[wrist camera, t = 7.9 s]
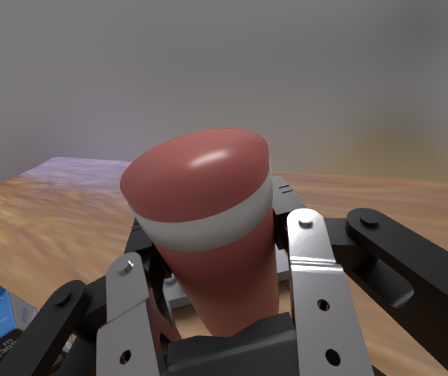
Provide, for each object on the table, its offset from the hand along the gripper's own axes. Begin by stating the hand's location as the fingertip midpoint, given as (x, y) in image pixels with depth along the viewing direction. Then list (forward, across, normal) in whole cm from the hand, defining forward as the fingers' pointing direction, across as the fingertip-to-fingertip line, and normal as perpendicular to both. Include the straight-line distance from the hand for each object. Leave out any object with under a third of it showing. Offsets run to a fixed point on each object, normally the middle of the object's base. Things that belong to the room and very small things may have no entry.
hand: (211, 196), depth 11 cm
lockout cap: (-3, 0, +6) cm, 7 cm away
